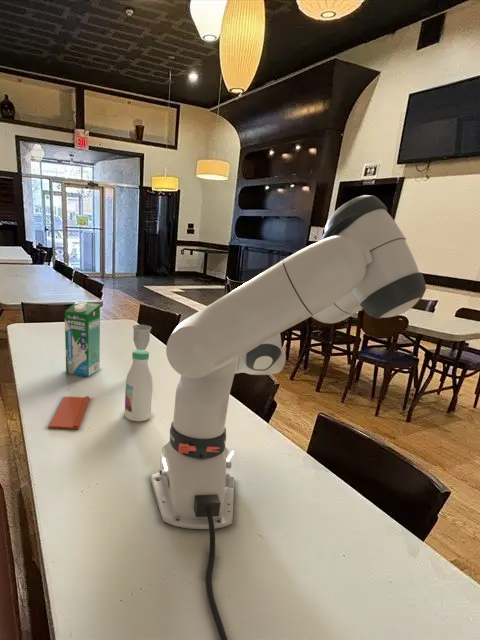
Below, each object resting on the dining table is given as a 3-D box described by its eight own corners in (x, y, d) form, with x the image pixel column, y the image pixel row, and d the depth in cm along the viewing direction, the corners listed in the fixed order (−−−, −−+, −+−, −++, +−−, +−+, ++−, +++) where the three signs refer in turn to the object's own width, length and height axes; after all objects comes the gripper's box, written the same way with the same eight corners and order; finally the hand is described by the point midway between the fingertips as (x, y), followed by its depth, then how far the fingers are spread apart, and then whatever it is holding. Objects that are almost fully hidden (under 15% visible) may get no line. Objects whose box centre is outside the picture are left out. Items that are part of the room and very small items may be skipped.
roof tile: (78, 429, 112) (78, 425, 112) (48, 428, 111) (48, 424, 111) (90, 399, 130) (90, 396, 130) (64, 398, 130) (64, 395, 130)
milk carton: (65, 372, 150) (64, 304, 141) (78, 365, 158) (77, 300, 149) (88, 377, 148) (88, 308, 139) (99, 369, 156) (100, 303, 147)
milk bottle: (152, 412, 125) (156, 349, 118) (148, 423, 118) (152, 357, 111) (127, 409, 126) (129, 346, 119) (121, 420, 119) (124, 354, 111)
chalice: (128, 371, 157) (129, 324, 151) (144, 369, 160) (147, 324, 153) (134, 377, 151) (136, 329, 144) (151, 376, 154) (154, 329, 147)
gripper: (222, 336, 125) (176, 333, 124) (233, 357, 106) (179, 354, 105) (219, 356, 127) (174, 353, 126) (230, 380, 108) (177, 377, 107)
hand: (176, 354), depth 115 cm, fingers closed
